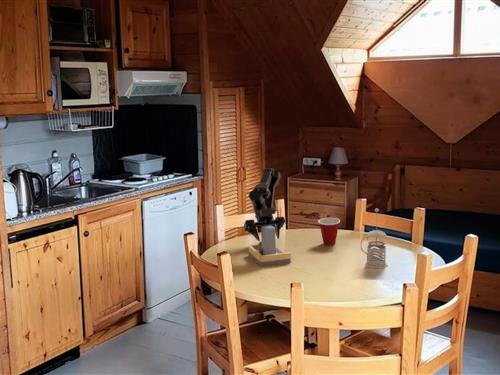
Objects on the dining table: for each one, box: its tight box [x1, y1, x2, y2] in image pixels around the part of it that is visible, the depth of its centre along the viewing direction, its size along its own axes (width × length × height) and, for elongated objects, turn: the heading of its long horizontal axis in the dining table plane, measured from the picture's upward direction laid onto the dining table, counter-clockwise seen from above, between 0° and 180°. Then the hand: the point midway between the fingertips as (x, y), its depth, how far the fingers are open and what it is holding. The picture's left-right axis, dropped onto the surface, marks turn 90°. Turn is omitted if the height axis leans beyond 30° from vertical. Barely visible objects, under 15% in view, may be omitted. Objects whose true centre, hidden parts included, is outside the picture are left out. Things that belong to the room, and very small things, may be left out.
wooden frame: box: [248, 245, 292, 267], centre depth 267 cm, size 18×14×4 cm
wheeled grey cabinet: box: [258, 226, 277, 255], centre depth 264 cm, size 8×7×13 cm
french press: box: [360, 208, 389, 269], centre depth 253 cm, size 10×12×25 cm
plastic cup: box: [317, 217, 341, 246], centre depth 289 cm, size 11×11×12 cm
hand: (268, 239), depth 265 cm, fingers open, 9 cm apart
